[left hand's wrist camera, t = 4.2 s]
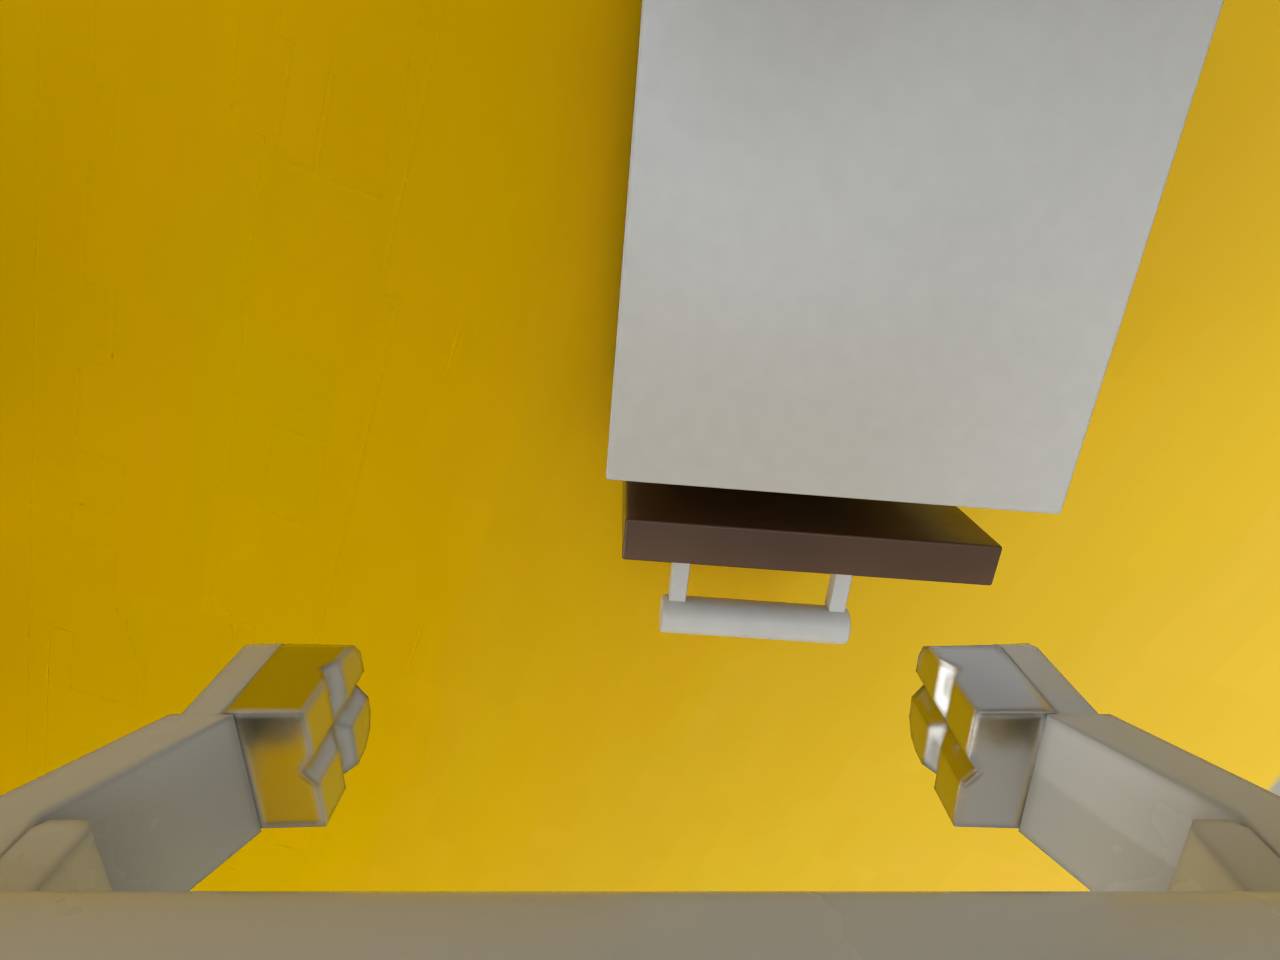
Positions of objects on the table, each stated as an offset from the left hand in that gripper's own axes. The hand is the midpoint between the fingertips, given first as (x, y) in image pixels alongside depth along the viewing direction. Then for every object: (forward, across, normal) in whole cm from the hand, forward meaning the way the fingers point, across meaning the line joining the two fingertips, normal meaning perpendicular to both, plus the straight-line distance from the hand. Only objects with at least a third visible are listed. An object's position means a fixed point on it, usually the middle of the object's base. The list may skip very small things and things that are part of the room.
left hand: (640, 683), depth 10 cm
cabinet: (+19, -6, -10) cm, 22 cm away
